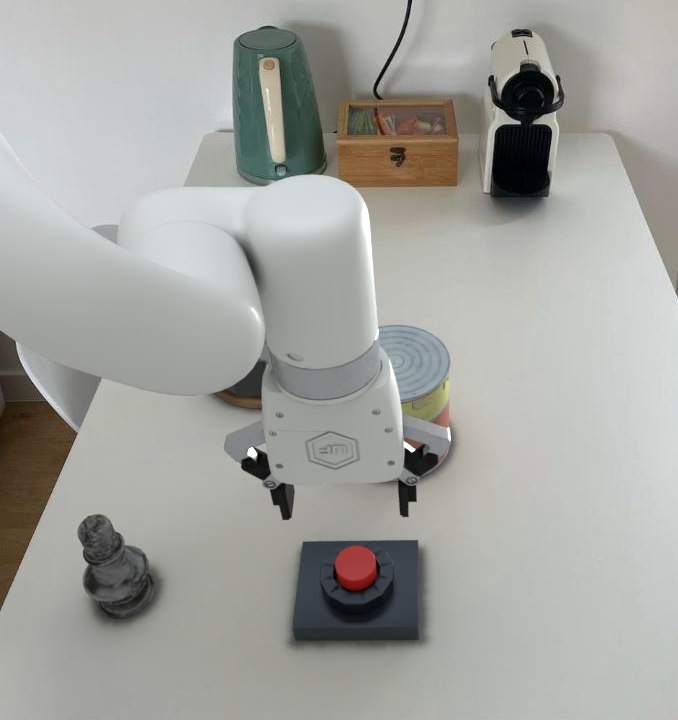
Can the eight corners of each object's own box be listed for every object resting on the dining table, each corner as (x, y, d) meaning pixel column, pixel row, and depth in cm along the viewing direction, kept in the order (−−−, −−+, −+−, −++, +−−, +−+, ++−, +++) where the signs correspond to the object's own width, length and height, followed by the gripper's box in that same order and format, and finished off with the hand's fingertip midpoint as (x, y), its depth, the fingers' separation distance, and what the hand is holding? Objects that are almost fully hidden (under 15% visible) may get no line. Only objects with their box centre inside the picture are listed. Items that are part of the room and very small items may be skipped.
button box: (295, 641, 72) (289, 617, 69) (305, 554, 79) (300, 530, 76) (419, 639, 72) (418, 616, 69) (418, 553, 78) (417, 528, 76)
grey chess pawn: (170, 575, 77) (137, 498, 69) (135, 629, 73) (96, 554, 65) (118, 559, 79) (80, 481, 71) (81, 611, 75) (36, 534, 67)
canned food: (471, 447, 88) (473, 367, 80) (386, 499, 83) (380, 419, 75) (409, 390, 95) (405, 310, 87) (327, 434, 90) (316, 355, 82)
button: (335, 591, 71) (333, 580, 70) (338, 556, 74) (336, 545, 73) (376, 591, 71) (374, 580, 70) (377, 556, 74) (376, 545, 73)
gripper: (189, 394, 53) (236, 545, 65) (453, 387, 53) (452, 540, 64) (209, 321, 59) (249, 472, 70) (448, 313, 58) (448, 466, 70)
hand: (346, 504), depth 67 cm, fingers open, 9 cm apart
